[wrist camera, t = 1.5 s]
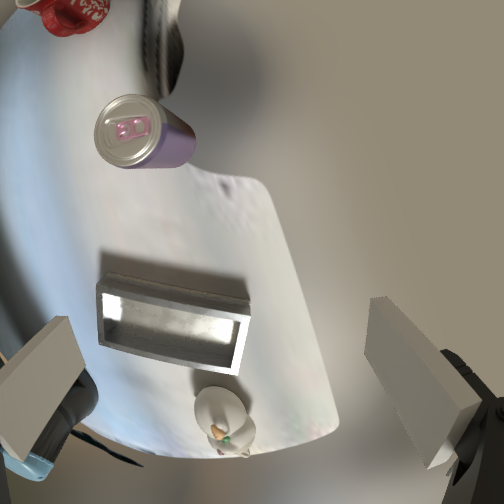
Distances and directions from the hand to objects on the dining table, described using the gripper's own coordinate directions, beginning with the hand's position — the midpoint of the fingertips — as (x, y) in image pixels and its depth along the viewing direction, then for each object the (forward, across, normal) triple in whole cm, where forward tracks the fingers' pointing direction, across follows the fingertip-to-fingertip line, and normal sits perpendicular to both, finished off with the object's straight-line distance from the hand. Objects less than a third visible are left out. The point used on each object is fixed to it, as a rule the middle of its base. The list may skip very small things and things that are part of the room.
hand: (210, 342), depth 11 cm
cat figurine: (+26, -4, -30) cm, 40 cm away
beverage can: (+26, -7, +11) cm, 29 cm away
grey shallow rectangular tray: (+26, -10, -12) cm, 30 cm away
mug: (+26, -19, +33) cm, 46 cm away
